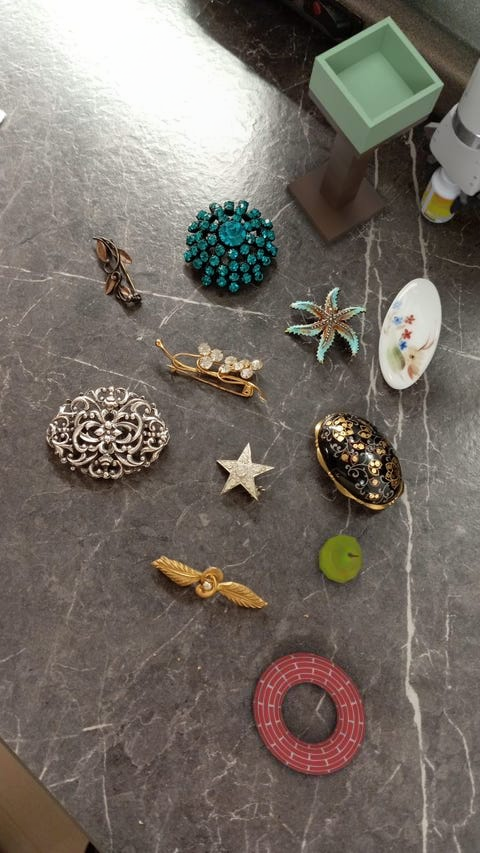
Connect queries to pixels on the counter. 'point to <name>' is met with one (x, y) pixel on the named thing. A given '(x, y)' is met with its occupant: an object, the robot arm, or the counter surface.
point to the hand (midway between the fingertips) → (445, 191)
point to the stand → (339, 186)
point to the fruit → (341, 558)
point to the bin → (375, 84)
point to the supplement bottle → (439, 196)
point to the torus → (279, 738)
